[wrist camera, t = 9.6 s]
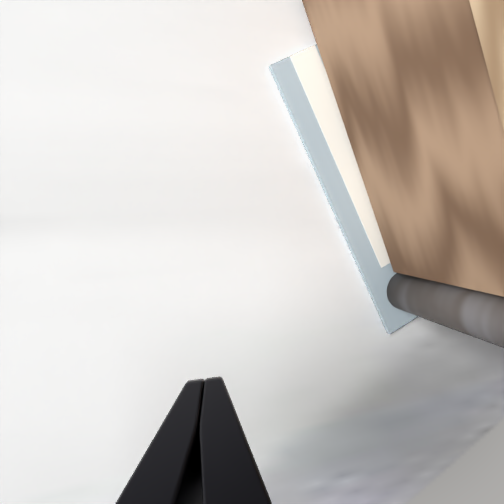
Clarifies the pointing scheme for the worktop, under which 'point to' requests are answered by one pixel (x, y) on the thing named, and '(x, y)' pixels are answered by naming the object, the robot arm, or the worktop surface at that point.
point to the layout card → (338, 172)
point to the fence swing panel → (425, 127)
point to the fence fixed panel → (450, 306)
